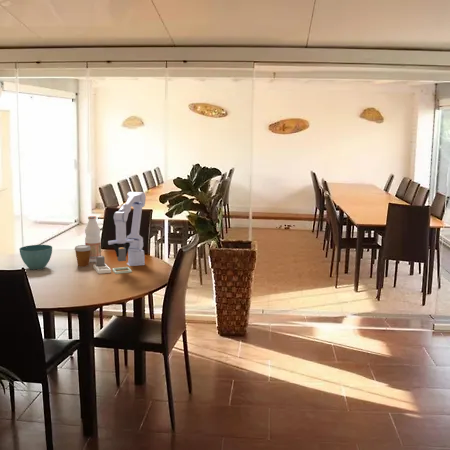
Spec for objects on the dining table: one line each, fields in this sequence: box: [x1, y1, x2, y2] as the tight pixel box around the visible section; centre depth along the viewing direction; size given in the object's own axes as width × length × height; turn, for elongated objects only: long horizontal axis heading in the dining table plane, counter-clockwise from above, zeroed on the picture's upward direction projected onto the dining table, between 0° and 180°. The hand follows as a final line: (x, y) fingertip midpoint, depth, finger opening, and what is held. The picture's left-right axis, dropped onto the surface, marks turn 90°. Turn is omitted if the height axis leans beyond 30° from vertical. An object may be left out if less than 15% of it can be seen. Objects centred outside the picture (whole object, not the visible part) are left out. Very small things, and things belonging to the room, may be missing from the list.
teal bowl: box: [19, 244, 53, 270], centre depth 330 cm, size 18×18×12 cm
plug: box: [116, 246, 127, 262], centre depth 321 cm, size 4×4×7 cm
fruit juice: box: [84, 215, 102, 263], centre depth 348 cm, size 9×9×28 cm
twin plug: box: [95, 255, 106, 267], centre depth 328 cm, size 4×4×7 cm
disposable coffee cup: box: [74, 244, 91, 268], centre depth 336 cm, size 10×10×12 cm
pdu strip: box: [92, 262, 112, 275], centre depth 325 cm, size 7×16×2 cm, turn 23°
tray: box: [111, 266, 133, 275], centre depth 323 cm, size 9×9×2 cm
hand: (121, 256), depth 321 cm, fingers closed on plug, 4 cm apart
